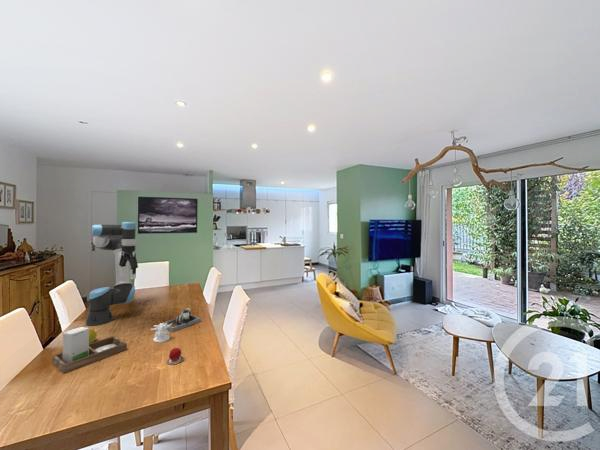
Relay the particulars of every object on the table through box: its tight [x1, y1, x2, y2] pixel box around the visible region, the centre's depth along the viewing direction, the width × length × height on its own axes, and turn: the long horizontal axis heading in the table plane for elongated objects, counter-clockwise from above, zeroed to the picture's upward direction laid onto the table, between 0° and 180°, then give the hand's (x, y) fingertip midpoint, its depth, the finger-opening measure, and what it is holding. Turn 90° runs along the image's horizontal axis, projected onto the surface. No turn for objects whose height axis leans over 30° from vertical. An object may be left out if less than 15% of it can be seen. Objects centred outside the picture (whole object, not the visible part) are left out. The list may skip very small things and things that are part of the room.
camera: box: [176, 307, 192, 327], centre depth 176 cm, size 16×9×10 cm, turn 19°
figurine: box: [150, 322, 173, 344], centre depth 150 cm, size 12×9×10 cm
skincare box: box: [62, 326, 90, 364], centre depth 124 cm, size 8×7×16 cm
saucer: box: [96, 344, 116, 352], centre depth 135 cm, size 10×10×2 cm
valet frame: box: [163, 314, 202, 333], centre depth 173 cm, size 14×21×2 cm, turn 148°
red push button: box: [165, 347, 185, 365], centre depth 128 cm, size 8×8×6 cm
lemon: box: [89, 328, 97, 344], centre depth 144 cm, size 11×8×8 cm
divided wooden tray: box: [51, 335, 128, 374], centre depth 129 cm, size 16×26×4 cm, turn 148°
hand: (128, 277), depth 162 cm, fingers open, 13 cm apart
